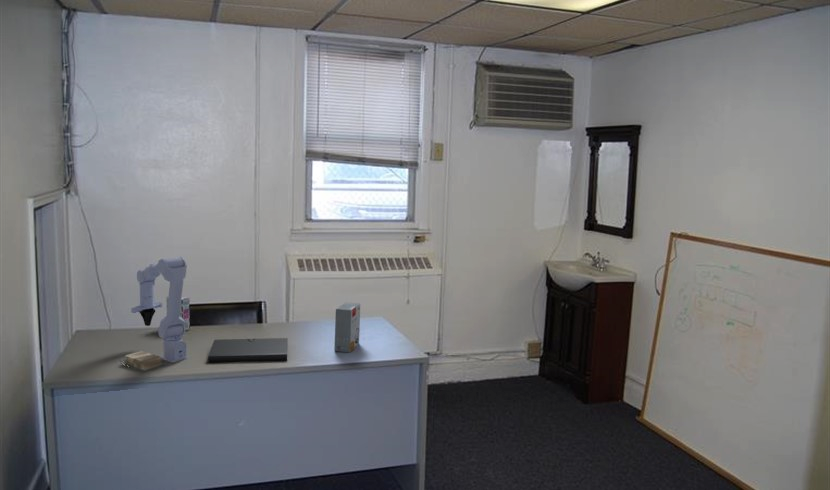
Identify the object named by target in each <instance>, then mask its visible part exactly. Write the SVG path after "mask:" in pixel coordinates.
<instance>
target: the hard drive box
mask: <svg viewBox="0 0 830 490" xmlns="http://www.w3.org/2000/svg"><path fill="white" fill-rule="evenodd" d="M334 318H335V322H334V323H335V325H334V345H333V346H334V351H335V352H341V353H342V352H343V353H351V352H352V351H353V350H354V349H355V348H356V347H357V346H358V345H359V344H360V324H361V303H358V302H351V301H349V302H348V301H347V302H344V303H343V304H341V305H340V306H339V307H337V308H335V317H334Z"/></svg>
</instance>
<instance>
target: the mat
mask: <svg viewBox="0 0 830 490" xmlns="http://www.w3.org/2000/svg"><path fill="white" fill-rule="evenodd" d="M121 361H122V360H121ZM123 361H124V362H123ZM123 361H122V362H123V363H124V364H125V359H123ZM120 363H121V362H120ZM121 364H122V363H121ZM122 365H123V364H122ZM122 365H121V366H122ZM127 365H128V364H125V366H126V367H125V366H124V365H123V367H125V368H128V366H129V369H131V370H133V371H134V370H135V371H136V372H137V371H138V372H140V373H142V374H144V373H147V372H150V371H155V370H157V369H162V368H164V367H168V366H169V364H168V363H164V362H162V365H161V366H157V367H154V368H151V369H147V370H142V369H139V368H136V367H133V366H131V365H128V366H127Z"/></svg>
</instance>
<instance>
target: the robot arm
mask: <svg viewBox="0 0 830 490" xmlns="http://www.w3.org/2000/svg"><path fill="white" fill-rule="evenodd" d="M187 265H188V264H187V262H186V260H185V259H184V257H183V256H179V257H170V258H161V259H159V260H158V262H157V263H156V264H155V263H150V264H149V266H147V267H145V268H144V269H138V271H137V272H136V279H137V282H138V283H139V305H138V306H135V307H131V313H133V314H136V313H137V312H138V313H139V314H140V315H141V317H142V320H143V324H144V326H145V327H149V326H151V324H152V319H153V316H154V315H155V313H156V309H158V308H163V302H155V297H154V295H155V294H154V286H155V284H156V283H155V281H156V278H158V277H159V276H162V277H163V279H164V280H165V281H167V282H169V288H168V289H169V290H168V296H169V297H168V296H167V297H168V306H167V305H166V314H165V315H166V316H165V317H163V318H162V319H161V320H160V324H159V326H158V329H157V332H158V336H159V338H161V340H162V345H163V347H162V349H163V351H162V352H163V355H162V356H160V357H161V359H162V360H163V361H167V362H170V363H176V362H180V361H182V360H186V359H188V358H189V357H188V356H187V344H186V342H185V341H184V340H183V339H182V338H183V336H184V335H185V333H186V331H185V321H184V320H183V319H182V318H181V317H179V314H180V306H181V297H183V296H182V294H183V288H184V287H183V285H184V280H185V279H186V275H187Z"/></svg>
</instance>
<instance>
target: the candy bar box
mask: <svg viewBox="0 0 830 490" xmlns="http://www.w3.org/2000/svg"><path fill="white" fill-rule="evenodd" d="M168 297H169V295H168V296H166V307H167V306H168ZM179 317H181V318H182V319H183V320H184V321H185V332H188V331H190V330H191V328H190V327H191V326H190V325H191V324H190V323H191V321H190V320H191V319H190V297H186V296H182V297H181V306H180V314H179Z"/></svg>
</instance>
